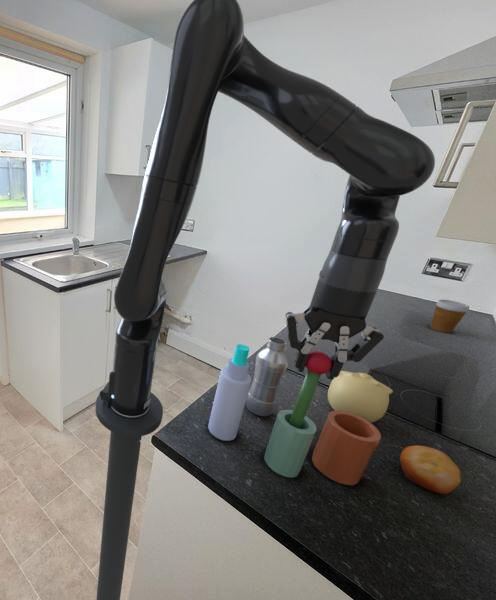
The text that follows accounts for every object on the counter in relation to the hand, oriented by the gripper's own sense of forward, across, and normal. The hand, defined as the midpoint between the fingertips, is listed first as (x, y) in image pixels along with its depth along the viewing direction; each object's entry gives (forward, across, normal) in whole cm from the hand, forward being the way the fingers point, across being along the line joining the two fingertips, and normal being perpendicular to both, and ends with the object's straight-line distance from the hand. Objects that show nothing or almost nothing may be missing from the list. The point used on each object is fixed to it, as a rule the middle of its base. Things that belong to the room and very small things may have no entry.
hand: (314, 372), depth 55 cm
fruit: (+22, +25, +8) cm, 34 cm away
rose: (+19, 0, 0) cm, 19 cm away
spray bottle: (+22, -12, +4) cm, 25 cm away
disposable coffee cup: (+22, +70, +109) cm, 131 cm away
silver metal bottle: (+22, -4, +16) cm, 27 cm away
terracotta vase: (+22, +10, +4) cm, 24 cm away
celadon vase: (+22, 0, 0) cm, 22 cm away
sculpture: (+22, +18, +26) cm, 39 cm away
